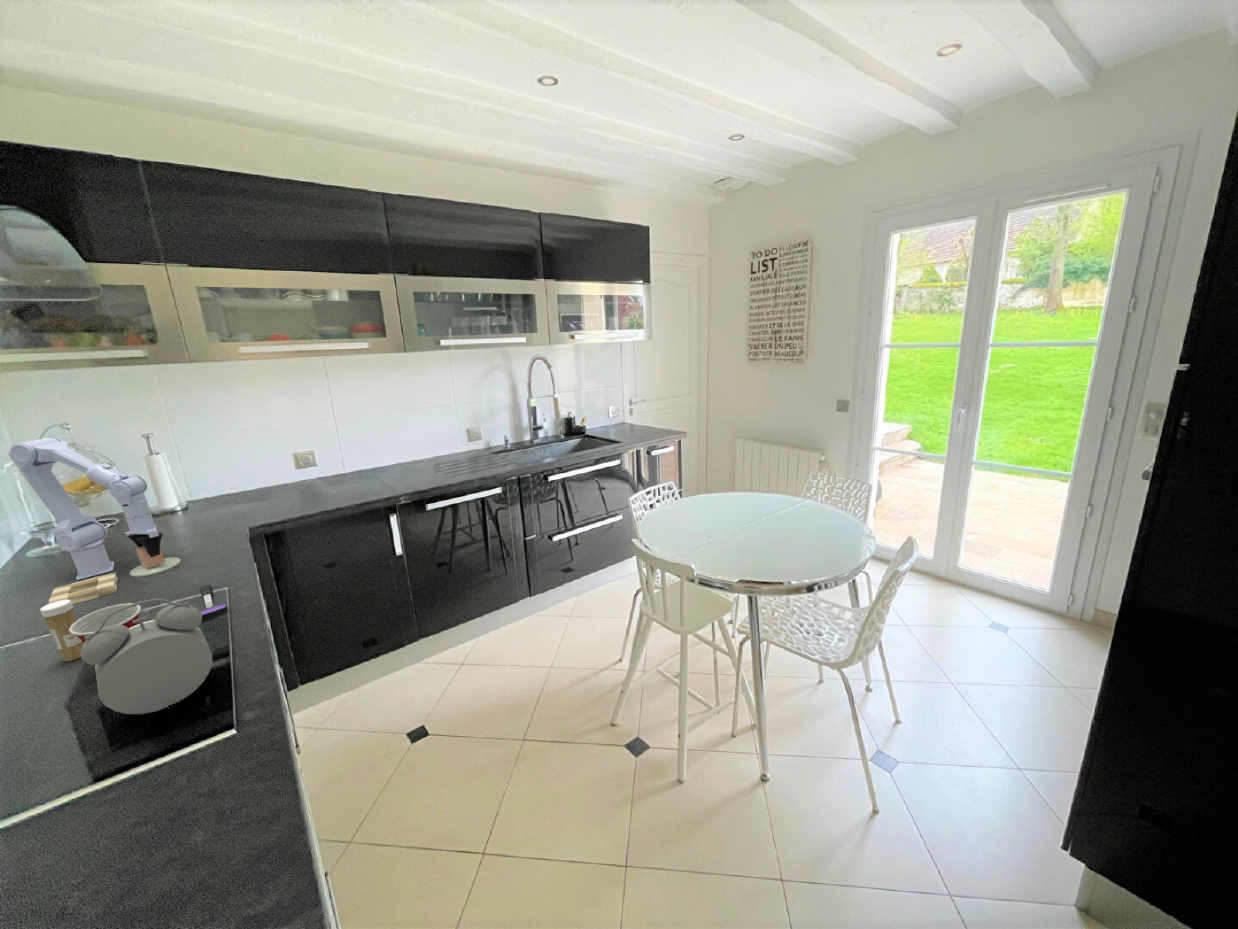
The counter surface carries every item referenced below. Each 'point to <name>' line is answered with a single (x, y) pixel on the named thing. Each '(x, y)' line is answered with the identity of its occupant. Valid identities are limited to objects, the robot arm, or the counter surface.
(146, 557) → the terracotta block
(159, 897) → the counter surface
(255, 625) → the counter surface
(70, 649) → the sprinkles bottle
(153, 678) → the alarm clock
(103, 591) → the maple pocket holder
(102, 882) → the counter surface
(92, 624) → the plastic cup
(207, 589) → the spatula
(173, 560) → the sage coaster
